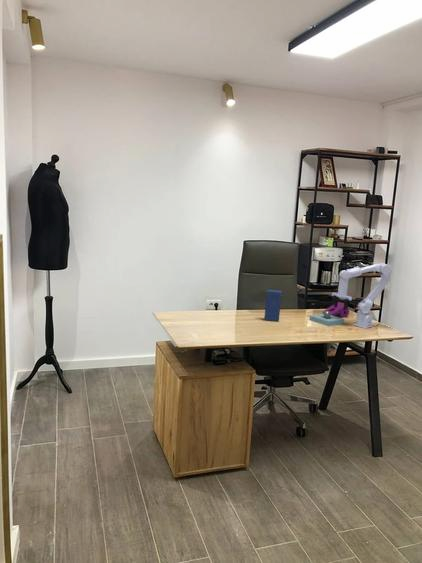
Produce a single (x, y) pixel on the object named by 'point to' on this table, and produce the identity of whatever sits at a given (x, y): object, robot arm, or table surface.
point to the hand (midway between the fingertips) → (340, 308)
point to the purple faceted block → (338, 310)
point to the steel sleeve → (327, 314)
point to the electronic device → (273, 305)
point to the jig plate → (327, 320)
